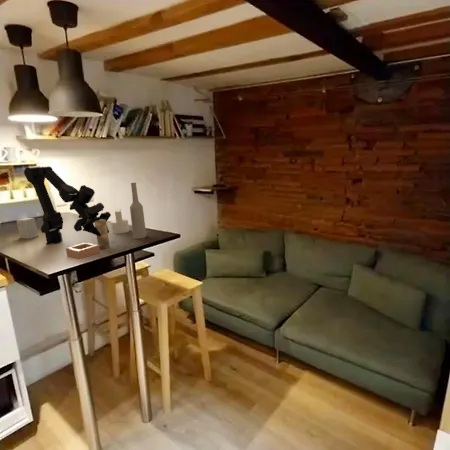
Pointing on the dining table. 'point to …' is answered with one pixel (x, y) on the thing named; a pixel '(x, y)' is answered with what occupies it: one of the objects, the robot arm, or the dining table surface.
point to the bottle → (137, 215)
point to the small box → (27, 228)
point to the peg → (102, 234)
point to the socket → (82, 250)
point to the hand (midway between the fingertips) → (104, 234)
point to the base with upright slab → (119, 223)
